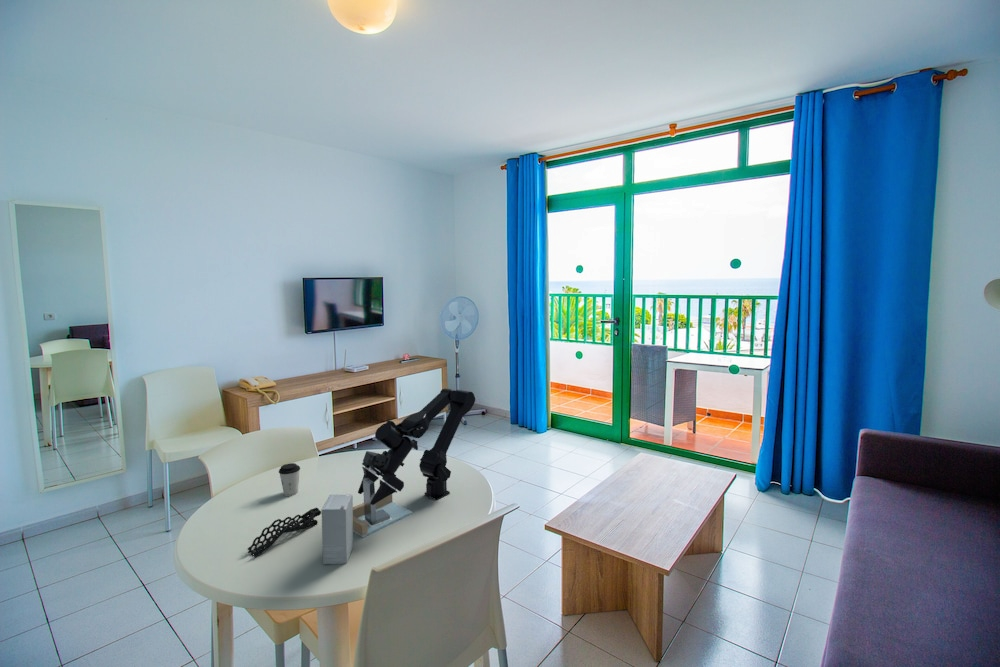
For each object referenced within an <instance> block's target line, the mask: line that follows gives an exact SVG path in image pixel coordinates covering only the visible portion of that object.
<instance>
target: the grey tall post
mask: <svg viewBox="0 0 1000 667" xmlns="http://www.w3.org/2000/svg"><path fill="white" fill-rule="evenodd" d="M362 479H363V478H362ZM375 487H376V486H375V482H373V481H371V480H370V479H369V478H364V479H363V493H362V494H363V503H364V511H365V520H366V521H367V522H369V523H370V524H371V525H374V524H377V523H380V522H383V521H385V520H388V519H390V515H389V514H388V513H387V512H386V511H384V510H383V509H382V510H379V511H376V506H375V504H374V505H372V504H370V502H371V500H372V498H373V497H374V495H375V493H376V490H375Z"/></svg>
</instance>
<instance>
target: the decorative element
mask: <svg viewBox="0 0 1000 667" xmlns="http://www.w3.org/2000/svg"><path fill="white" fill-rule="evenodd" d="M320 515H322V511H321V510H320V508H318V507H314V508H311V509H309V510H308V511H306V512H305V513H304V514H302V515H301V514H296V515H295V516H294V517H291V516H287V517H286V518H284V519H280V518H277V519H275V520H274V521H273V522H272V523H271V524H270V525H269V526H266V527H264V528H263V529H262V531H261V534H260V535H259V536H256V537H255V538H254V539H253V541H252V544H251V545H250V546H249V547H247V550H248V551H247V553H248V554H250V555H252V557H253V556H254V557H257V556H260V555H261V554H263V553H264V552H265V551H266V550H268V549H269V548H270V547H271V546H273V545H274V544H275V542H276V541H277V540H278V539H279V538H280V537H281V536H282V535H283V534H285V533H292V532H297V531H302V530H304V529H307V528H309V527H313V526H314V527H315V525H316V526H317V525H318V519H314V518H317V517H319V516H320ZM287 520H288V521H287ZM277 522H278V523H277ZM281 523H282V525H281ZM272 528H273V529H272ZM270 529H272V530H270ZM265 531H266V532H265ZM274 532H275V534H274ZM268 534H270V535H269V537H267V536H268ZM262 537H263V540H261V539H262ZM256 541H257V542H256ZM259 544H261V545H259ZM258 545H259V546H258ZM253 554H254V555H253ZM259 554H260V555H259ZM250 555H249V556H250ZM254 557H253V558H254Z"/></svg>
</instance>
